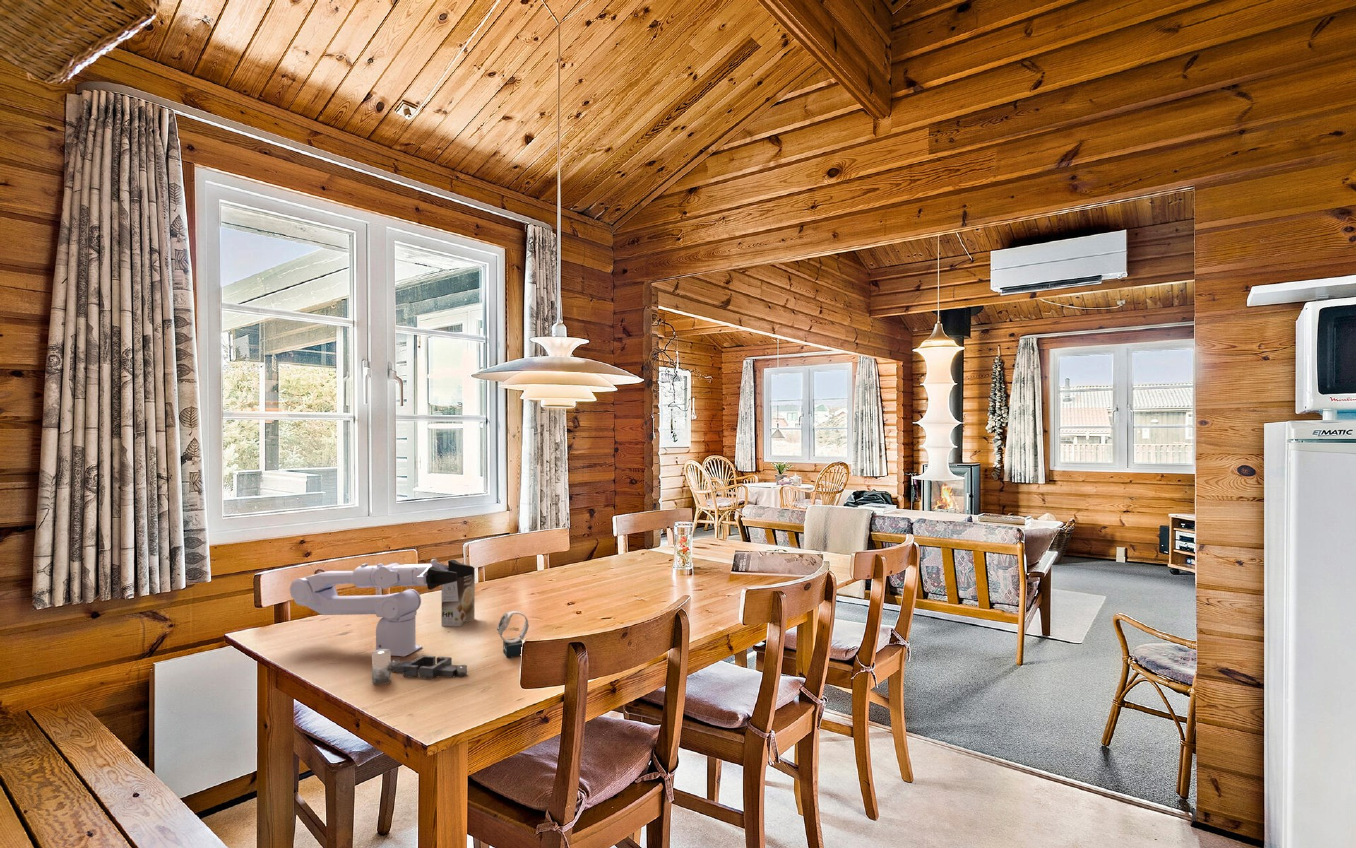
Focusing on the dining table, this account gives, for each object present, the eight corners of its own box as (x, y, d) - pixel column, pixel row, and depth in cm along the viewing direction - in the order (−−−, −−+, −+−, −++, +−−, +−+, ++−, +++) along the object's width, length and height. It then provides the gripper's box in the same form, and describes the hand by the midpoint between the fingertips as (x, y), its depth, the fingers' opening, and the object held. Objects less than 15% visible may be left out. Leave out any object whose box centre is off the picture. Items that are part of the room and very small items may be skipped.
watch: (495, 652, 182) (495, 611, 182) (526, 648, 186) (525, 607, 186) (499, 659, 177) (499, 616, 177) (530, 655, 181) (530, 612, 181)
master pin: (368, 684, 161) (368, 653, 161) (379, 677, 165) (379, 648, 165) (383, 685, 160) (383, 655, 160) (394, 679, 164) (394, 649, 164)
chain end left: (380, 674, 167) (379, 663, 167) (400, 663, 175) (400, 653, 175) (416, 677, 165) (416, 667, 165) (435, 666, 172) (435, 656, 172)
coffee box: (460, 627, 206) (460, 573, 206) (440, 626, 207) (440, 572, 207) (475, 618, 215) (475, 567, 215) (456, 617, 216) (456, 566, 216)
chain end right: (419, 678, 164) (419, 667, 164) (439, 666, 172) (439, 656, 172) (457, 681, 162) (457, 670, 162) (474, 669, 170) (474, 659, 170)
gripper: (400, 565, 175) (448, 563, 172) (434, 554, 190) (478, 553, 186) (402, 593, 175) (450, 592, 172) (435, 580, 189) (480, 579, 186)
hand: (465, 573), depth 179 cm, fingers open, 7 cm apart
